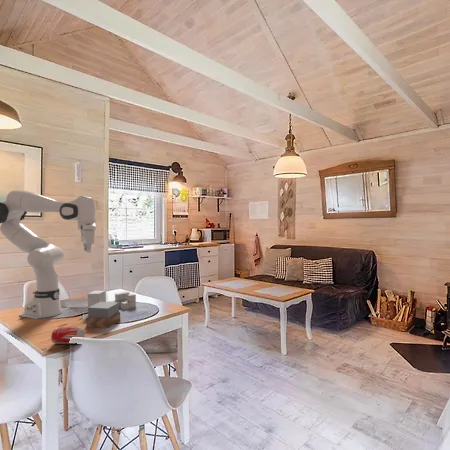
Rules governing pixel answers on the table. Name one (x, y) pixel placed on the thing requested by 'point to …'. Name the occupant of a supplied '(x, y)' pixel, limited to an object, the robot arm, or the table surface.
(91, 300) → the supplement box
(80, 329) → the soda can
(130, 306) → the puzzle cube
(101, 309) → the tower top
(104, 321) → the tower bottom
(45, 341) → the table surface
